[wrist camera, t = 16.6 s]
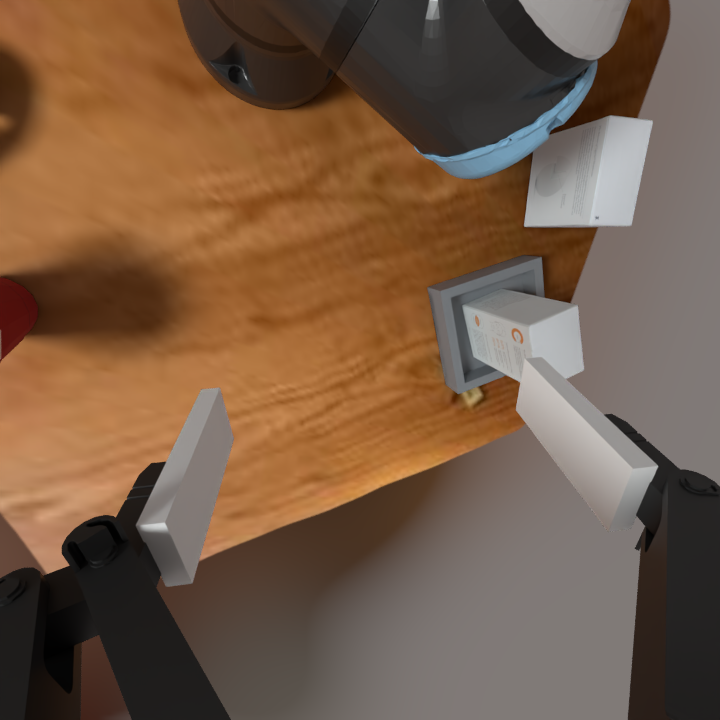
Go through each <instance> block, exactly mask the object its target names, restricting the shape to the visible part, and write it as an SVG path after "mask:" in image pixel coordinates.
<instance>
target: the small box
mask: <svg viewBox="0 0 720 720" xmlns="http://www.w3.org/2000/svg"><path fill="white" fill-rule="evenodd" d="M462 308H463V312H464V317H465V321H466V326H467V330H468V335H469V339H470V344H471V348H472V352H473V357H474V358H476V359H478V360H480V361H482V362H484V363H486V364H487V365H489V366H491V367H493V368H495V369H497V370H498V371H500V372H502V373H504V374H506V375H508V376H510V377H511V378H513V379H515V380H517V381H519V382H521V377H522V372H523V366H524V360H525V358H536V357H542V358H543V359H545V360H546V361H547V362H548V363H549V364H550V365H551V366H552V367H553V368H554V369H555V370H556V371H557V372H558V373H559V374H561V375H562V376H563V377H564V378H565V379H567V378H568V377H571V376H573V375H575V374H577V373H579V372H581V371H583V370H584V361H583V350H582V341H581V331H580V320H579V309H578V305H575V304H571V303H566V302H562V301H557V300H552V299H548V298H543V297H538V296H534V295H529V294H525V293H520V292H515V291H511V290H506V289H499V290H497V291H495V292H492V293H490V294H487V295H485V296H483V297H480V298H478V299H475V300H473V301H471V302H469V303H466V304H464V305H462Z"/></svg>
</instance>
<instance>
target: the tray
mask: <svg viewBox="0 0 720 720" xmlns="http://www.w3.org/2000/svg"><path fill="white" fill-rule="evenodd" d="M427 288H428V293H429V298H430V304H431V309H432V314H433V320H434V325H435V330H436V335H437V341H438V346H439V351H440V356H441V362H442V367H443V372H444V378H445V383H446V385H447V386H448V387H450V388H451V389H452V390H454V391H455V392H456V393H458V394H460V393H462V392H465V391H467V390H470V389H473V388H475V387H478V386H480V385H483V384H485V383H488V382H490V381H493V380H495V379H498V378H501V377H503V376H506V374H504V373H502V372H500V371H498V370H497V369H495V368H493V367H491V366H489V365H487V364H486V363H484V362H482V361H480V360H478V359H476V358H474V357H473V352H472V348H471V344H470V339H469V335H468V330H467V326H466V321H465V317H464V312H463V308H462V305H464V304H466V303H469V302H471V301H473V300H475V299H478V298H480V297H483V296H485V295H487V294H490V293H492V292H495V291H497V290H499V289H506V290H511V291H515V292H520V293H525V294H529V295H534V296H538V297H543V298H545V297H544V283H543V269H542V257H537V256H526V255H522V256H519V257H516V258H513V259H510V260H507V261H504V262H501V263H498V264H495V265H492V266H489V267H486V268H483V269H480V270H477V271H474V272H472V273H469V274H466V275H463V276H460V277H457V278H454V279H451V280H448V281H445V282H442V283H439V284H436V285H433V286H430V287H427Z"/></svg>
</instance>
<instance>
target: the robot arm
mask: <svg viewBox="0 0 720 720" xmlns="http://www.w3.org/2000/svg"><path fill="white" fill-rule="evenodd" d="M630 1H631V0H178V4H179V8H180V12H181V16H182V19H183V23H184V26H185V30H186V32H187V35H188V38H189V40H190V42H191V44H192V47H193V48H194V50H195V52H196V54H197V56H198V57H199V59H200V61H201V62H202V64H203V65H204V66H205V68H206V69H207V70H208V72H209V73H210V74H211V75H212V76H213V77H214V79H215V80H216V81H217V82H218V83H219V84H221V85H222V86H223V87H224V88H225V89H226V90H228V91H229V92H230V93H232V94H233V95H235V96H236V97H238V98H240V99H241V100H243V101H245V102H248V103H250V104H252V105H255V106H259V107H263V108H268V109H288V108H293V107H297V106H300V105H302V104H304V103H307V102H308V101H310V100H312V99H313V98H315V97H316V96H317V95H318V94H319V93H321V92H322V91H323V90H324V88H325V87H326V86H327V85H328V84H329V82H330V81H331V79H332V78H333V76H334V74H335V73H336V75H337V76H338V77H339V78H340V79H341V80H343V81H344V82H345V83H346V84H347V85H348V86H349V87H350V88H351V89H352V90H354V91H355V92H356V93H357V94H358V95H359V96H360V97H361V98H362V99H363V100H364V101H366V102H367V103H368V104H369V105H370V106H371V107H372V108H373V109H374V110H375V111H376V112H378V113H379V114H380V115H381V116H382V117H383V118H384V119H385V120H386V121H387V122H388V123H390V124H391V125H392V126H393V127H394V128H395V129H396V130H397V131H398V132H399V133H400V134H402V135H403V136H404V137H405V138H406V139H407V140H408V141H409V142H410V143H411V144H413V146H414V148H415V149H416V150H417V152H418V153H419V154H422V155H423V156H424V157H425V158H427V159H430V160H432V161H434V162H435V163H436V164H437V165H439V166H440V167H441V168H442V169H444V170H445V171H446V172H447V173H449V174H451V175H453V176H455V177H458V178H462V179H476V178H481V177H485V176H489V175H492V174H494V173H497V172H499V171H501V170H504V169H506V168H508V167H509V166H511V165H513V164H515V163H517V162H518V161H520V160H521V159H523V158H524V157H526V156H527V155H529V154H530V153H532V152H533V151H534V150H535V149H537V148H538V147H539V146H540V145H542V144H543V143H544V142H545V141H546V140H548V139H549V133H550V131H551V130H552V129H554V128H555V127H557V126H560V125H563V124H564V123H565V122H566V121H567V120H568V119H569V118H570V117H571V116H572V114H573V113H574V112H575V111H576V110H577V108H578V107H579V106H580V104H581V103H582V101H583V100H584V98H585V96H586V95H587V93H588V91H589V90H590V88H591V86H592V83H593V80H594V78H595V74H596V71H597V60H598V59H599V58H600V57H602V56H603V55H604V54H605V53H607V52H608V51H609V50H610V49H611V48H612V46H613V45H614V44H615V42H616V40H617V37H618V34H619V31H620V29H621V26H622V23H623V20H624V17H625V14H626V11H627V8H628V5H629V3H630ZM516 411H517V412H518V413H519V415H520V416H521V417H522V419H523V420H524V421H525V422H526V424H527V425H528V426H529V428H530V429H531V430H532V432H533V433H534V434H535V436H536V437H537V438H538V440H539V441H540V442H541V444H542V445H543V446H544V448H545V449H546V450H547V452H548V453H549V454H550V456H551V457H552V458H553V459H554V461H555V462H556V463H557V465H558V466H559V467H560V469H561V470H562V471H563V473H564V474H565V475H566V477H567V478H568V479H569V481H570V482H571V483H572V485H573V486H574V487H575V489H576V490H577V491H578V493H579V494H580V495H581V496H582V498H583V499H584V501H585V502H586V503H587V505H588V506H589V507H590V509H591V510H592V511H593V513H594V514H595V515H596V516H597V518H598V519H599V520H600V522H601V523H602V524H603V526H604V527H605V528H606V530H607V531H608V532H611V531H619V530H627V529H631V528H632V525H633V523H634V520H635V518H636V516H637V517H638V518H639V519H640V520H641V521H642V523H643V524H644V525H645V528H644V530H643V532H642V534H641V537H640V539H639V541H638V543H637V545H636V547H635V549H636V550H639V549H640V548H641V553H640V566H639V580H638V592H637V605H636V619H635V631H634V644H633V657H632V671H631V684H630V697H629V710H628V720H720V486H718V485H717V484H716V483H715V482H714V481H713V480H711V479H709V478H708V477H706V476H704V475H701V474H699V473H697V472H693V471H689V470H680V469H679V468H677V467H676V466H675V465H674V464H673V463H672V462H671V461H670V460H669V459H667V458H666V457H665V456H664V455H663V454H662V453H661V452H660V451H658V450H657V449H656V448H655V447H654V446H653V445H652V444H650V443H649V442H647V441H646V439H645V438H644V437H643V436H642V435H641V434H638V433H637V431H636V430H635V429H634V428H632V426H630V425H629V424H628V423H627V422H626V421H624V420H622V419H620V418H618V417H616V416H615V415H613V414H606V415H603V414H602V413H601V412H600V411H599V410H598V409H597V408H596V407H595V406H593V404H591V403H590V402H589V401H588V400H587V399H586V398H585V397H584V396H583V395H582V394H581V393H580V392H579V391H578V390H577V389H576V388H574V387H573V386H572V385H571V384H570V383H569V382H568V381H567V380H566V379H565V378H564V377H563V376H562V375H561V374H559V373H558V372H557V371H556V370H555V369H554V368H553V367H552V366H551V365H550V364H549V363H548V362H547V361H546V360H545V359H543V358H542V357H536V358H525V360H524V366H523V372H522V377H521V383H520V389H519V394H518V400H517V406H516ZM233 440H234V437H233V434H232V430H231V426H230V423H229V419H228V415H227V412H226V408H225V404H224V401H223V397H222V394H221V390H220V388H212V389H201V391H200V393H199V395H198V397H197V399H196V401H195V403H194V406H193V408H192V410H191V412H190V414H189V416H188V418H187V420H186V422H185V424H184V426H183V428H182V430H181V433H180V435H179V437H178V439H177V441H176V443H175V445H174V447H173V449H172V451H171V453H170V455H169V457H168V460H167V462H159V463H151V464H150V465H149V466H148V467H147V468H146V469H145V470H144V471H143V472H142V473H141V474H140V475H139V476H138V478H137V480H136V482H135V483H134V485H133V487H132V488H133V489H132V490H131V491H130V493H129V494H128V496H127V500H125V502H124V504H123V505H122V507H121V509H120V511H119V513H118V515H117V516H116V518H115V517H114V516H109V515H103V516H98V517H94V518H92V519H90V520H88V521H85V522H84V523H82V524H81V525H79V526H78V527H76V528H75V529H74V530H73V531H72V532H71V533H70V534H69V535H68V536H67V537H66V539H65V541H64V543H63V545H62V555H63V556H64V558H65V559H66V560H67V562H68V563H69V565H70V566H68V567H65V568H62V569H60V570H57V571H54V572H52V573H49V574H47V575H44V576H43V575H42V574H41V573H40V571H38V570H37V569H35V568H22V569H19V570H16V571H13V572H11V573H9V574H7V575H6V576H4V577H2V578H0V720H80V716H81V712H80V711H81V653H82V651H81V650H82V648H81V647H82V642H84V641H86V640H88V639H90V638H93V637H95V636H97V635H99V636H100V638H101V641H102V644H103V646H104V649H105V652H106V654H107V657H108V659H109V662H110V664H111V667H112V670H113V672H114V675H115V678H116V680H117V682H118V685H119V688H120V690H121V693H122V696H123V698H124V701H125V703H126V706H127V709H128V711H129V714H130V716H131V719H132V720H231V719H230V717H229V715H228V714H227V712H226V710H225V708H224V707H223V705H222V703H221V701H220V700H219V698H218V696H217V694H216V692H215V691H214V689H213V687H212V685H211V684H210V682H209V680H208V678H207V677H206V675H205V673H204V671H203V670H202V668H201V666H200V664H199V662H198V661H197V659H196V657H195V656H194V654H193V652H192V650H191V648H190V647H189V645H188V643H187V641H186V640H185V638H184V636H183V634H182V633H181V631H180V629H179V627H178V625H177V624H176V622H175V620H174V618H173V617H172V615H171V613H170V611H169V610H168V608H167V606H166V604H165V602H164V601H163V599H162V597H161V595H160V594H159V592H158V590H157V588H156V587H157V584H158V581H159V579H160V576H161V577H162V579H163V581H164V583H165V585H166V586H176V585H183V584H192V583H193V579H194V576H195V572H196V569H197V565H198V562H199V558H200V555H201V551H202V548H203V545H204V541H205V538H206V534H207V531H208V527H209V524H210V520H211V517H212V513H213V510H214V506H215V503H216V499H217V496H218V492H219V489H220V485H221V482H222V478H223V475H224V472H225V468H226V465H227V461H228V458H229V454H230V451H231V447H232V444H233Z"/></svg>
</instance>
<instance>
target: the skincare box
mask: <svg viewBox="0 0 720 720" xmlns="http://www.w3.org/2000/svg"><path fill="white" fill-rule="evenodd" d="M652 124H653V121H651V120H646V119H638V118H629V117H621V116H612V115H610V116H607V117H604V118H602V119H599V120H596V121H593V122H589V123H586V124H583V125H580V126H577V127H573V128H570V129H567V130H563V131H560V132H557V133H554V134H551V135H549V139H548V140H546V141H545V142H544V143H543V144H542V145H540V146H539V147H538V148H537V149H535V150H534V151H533V158H532V166H531V174H530V182H529V190H528V198H527V207H526V214H525V222H524V227H615V226H631V225H632V220H633V215H634V210H635V205H636V201H637V196H638V191H639V186H640V181H641V176H642V172H643V167H644V162H645V157H646V153H647V148H648V143H649V139H650V134H651V129H652Z"/></svg>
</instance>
